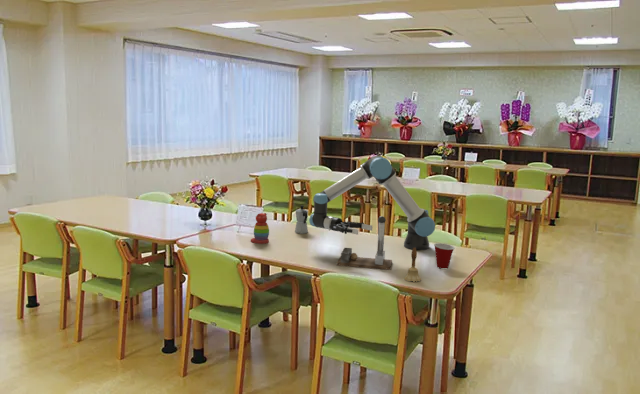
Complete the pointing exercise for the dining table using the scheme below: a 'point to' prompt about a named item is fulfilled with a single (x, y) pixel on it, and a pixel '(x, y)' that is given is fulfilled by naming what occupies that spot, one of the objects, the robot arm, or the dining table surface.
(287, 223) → the dining table surface
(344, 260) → the press base
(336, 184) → the robot arm
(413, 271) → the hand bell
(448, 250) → the plastic cup
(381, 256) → the grey upright post
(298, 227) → the coffee maker
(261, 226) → the stacking bear
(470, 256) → the dining table surface
